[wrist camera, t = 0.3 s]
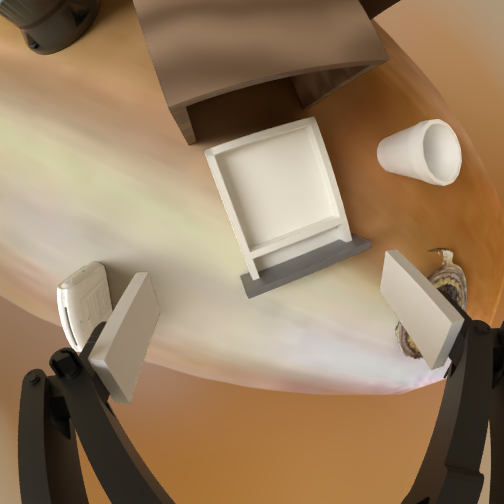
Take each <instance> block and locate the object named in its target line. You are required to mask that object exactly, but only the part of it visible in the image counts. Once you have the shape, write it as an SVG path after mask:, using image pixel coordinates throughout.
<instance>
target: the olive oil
mask: <svg viewBox="0 0 504 504" xmlns="http://www.w3.org/2000/svg"><path fill="white" fill-rule="evenodd" d="M399 1H400V0H359V2H360V4H361V5H362V7H363V9H364V10H365V12H366V14H367V16H368V17H369V19H370V20H371V19H373V18H374V17H375V16H377V15H378V14H380V13H381V12H383V11H384V10H386V9H387V8H389V7H391V6H392V5H394V4H395V3H397V2H399Z"/></svg>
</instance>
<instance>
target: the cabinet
mask: <svg viewBox="0 0 504 504" xmlns="http://www.w3.org/2000/svg"><path fill="white" fill-rule="evenodd" d="M133 3H134V6H135V9H136V12H137V16H138V19H139V22H140V25H141V28H142V31H143V35H144V38H145V41H146V44H147V47H148V50H149V53H150V56H151V59H152V62H153V65H154V68H155V71H156V74H157V77H158V80H159V83H160V86H161V89H162V91H163V94H164V97H165V100H166V103H167V106H168V108H169V110H170V112H171V114H172V116H173V117H174V119H175V121H176V123H177V125H178V127H179V128H180V130H181V132H182V134H183V136H184V138H185V139H186V141H187V143H188V145H191V144H194V143H196V139H195V136H194V132H193V129H192V126H191V122H190V119H189V116H188V112H187V109H186V106H189V105H191V104H194V103H197V102H200V101H203V100H206V99H209V98H212V97H215V96H218V95H221V94H224V93H227V92H231V91H234V90H237V89H241V88H245V87H248V86H252V85H256V84H260V83H264V82H268V81H272V80H276V79H281V78H285V77H291V79H292V81H293V84H294V86H295V89H296V91H297V94H298V96H299V99H300V101H301V104H302V106H303V109H307V108H311V107H312V106H314V105H315V104H317V103H318V102H320V101H321V100H323V99H324V98H326V97H327V96H329V95H331V94H332V93H334V92H335V91H337V90H338V89H340V88H342V87H343V86H345V85H346V84H348V83H350V82H351V81H353V80H355V79H356V78H358V77H360V76H361V75H363V74H365V73H367V72H368V71H370V70H372V69H373V68H375V67H377V66H379V65H381V64H382V63H384V62H386V61H388V60H390V59H389V57H388V55H387V53H386V51H385V48H384V46H383V44H382V42H381V40H380V38H379V36H378V34H377V32H376V30H375V28H374V27H373V25H372V23H371V21H370V19H369V17H368V16H367V14H366V12H365V10H364V9H363V7H362V5H361V4H360V2H359V0H133Z"/></svg>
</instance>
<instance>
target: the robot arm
mask: <svg viewBox="0 0 504 504" xmlns="http://www.w3.org/2000/svg"><path fill="white" fill-rule="evenodd" d="M98 10H99V0H0V15H1V16H3V17H4V18H6V19H7V20H8V21H10V22H11V23H13V24H14V25H16V26H17V27H18V28H20V30H21V32H22V35H23V37H24V39H25V42H26V44H27V46H28V47H29V48H30V49H31V50H32V51H34V52H35V53H37V54H41V55H47V54H52V53H55V52H57V51H60V50H62V49H64V48H65V47H67V46H69V45H70V44H71V43H73V42H74V41H75V40H77V39H78V38H79V37H80V36H81V35H82V34H83V33H84V32H85V31H86V30H87V29H88V28H89V26H90V25H91V24H92V22H93V21H94V19H95V17H96V15H97V13H98ZM379 292H380V293H381V295H382V296H383V298H384V299H385V301H386V302H387V303H388V305H389V306H390V308H391V309H392V310H393V312H394V313H395V315H396V316H397V318H398V319H399V321H400V322H401V324H402V325H403V327H404V328H405V330H406V331H407V333H408V334H409V336H410V337H411V339H412V340H413V342H414V343H415V345H416V346H417V348H418V350H419V351H420V353H421V354H422V356H423V357H424V359H425V361H426V362H427V364H428V365H429V367H430V369H431V370H433V369H436V368H439V367H441V366H444V364H445V362H446V360H447V358H448V356H449V358H450V359H451V361H452V362H451V364H450V366H449V368H448V370H447V372H446V373H445V375H444V377H443V378H446V376H447V375H448V376H447V381H446V386H445V390H444V395H443V399H442V403H441V406H440V410H439V414H438V418H437V421H436V425H435V428H434V431H433V434H432V437H431V440H430V443H429V446H428V449H427V452H426V454H425V457H424V460H423V462H422V465H421V468H420V470H419V473H418V475H417V477H416V479H415V482H414V484H413V486H412V488H411V490H410V492H409V493H408V495H407V496H406V497H405V498H404V500H403V501H402V503H401V504H477V503H478V500H479V497H480V493H481V490H482V487H483V482H484V475H483V474H481V473H480V472H479V468H480V463H481V459H482V455H483V450H484V445H485V440H486V434H487V428H488V421H490V422H489V423H490V437H491V480H490V481H491V482H490V497H489V504H504V321H503V323H502V325H501V327H500V328H494V329H491V328H490V326H489V325H488V324H487V323H485V322H483V321H481V320H472V319H471V318H470V317H469V316H468V315H467V313H466V312H465V311H464V310H463V309H462V308H461V307H460V306H459V305H458V304H457V303H456V302H455V301H454V300H453V298H452V297H451V296H450V295H449V294H448V293H446V292H445V291H443V290H441V289H440V288H439V289H436V288H435V287H434V286H433V285H432V283H431V282H430V281H429V280H428V279H427V278H426V277H425V276H424V275H423V274H422V273H421V272H420V271H419V270H418V269H417V268H416V267H415V266H414V265H413V264H412V263H410V262H409V261H408V260H407V259H406V258H405V257H404V256H403V255H402V254H401V253H400V252H399V251H398V250H389V251H386V253H385V260H384V267H383V274H382V280H381V286H380V291H379ZM159 315H160V310H159V307H158V303H157V300H156V296H155V293H154V290H153V286H152V283H151V279H150V275H149V272H138V273H135V275H134V277H133V278H132V280H131V282H130V283H129V285H128V287H127V288H126V290H125V292H124V293H123V295H122V297H121V298H120V300H119V302H118V304H117V305H116V307H115V309H114V311H113V312H112V314H111V316H110V318H109V319H108V321H107V322H106V321H102V322H101V323H100V324H98V325H97V326H96V327H95V328H94V330H93V332H92V333H91V335H90V337H89V339H88V340H87V343H86V344H85V346H84V348H83V349H82V351H81V353H80V355H79V357H78V355H77V353H76V352H75V350H74V349H72V348H63V349H60V350H58V351H56V352H55V353H54V354H53V355H52V356H51V359H50V361H49V365H50V366H51V368H52V370H53V371H54V372H55V374H56V375H55V376H48V377H47V376H46V374H45V373H44V371H43V370H41V369H34V370H31V371H30V372H28V373H27V374H26V376H25V377H24V379H23V383H22V391H21V399H20V410H19V411H20V412H19V426H18V465H19V466H18V467H19V481H20V493H21V501H22V504H89V502H88V498H87V494H86V490H85V486H84V481H83V476H82V472H81V466H80V460H79V454H78V448H77V441H76V433H75V429H76V432H77V434H78V437H79V439H80V441H81V444H82V446H83V448H84V451H85V453H86V455H87V457H88V460H89V462H90V464H91V466H92V468H93V470H94V472H95V474H96V476H97V478H98V480H99V481H100V484H101V485H102V487H103V489H104V491H105V492H106V494H107V496H108V498H109V499H110V501H111V503H112V504H175V502H174V501H173V500H172V499H171V498H170V496H169V495H168V494H167V493H166V491H165V490H164V489H163V487H162V486H161V485H160V484H159V482H158V481H157V479H156V478H155V477H154V475H153V474H152V473H151V471H150V470H149V468H148V467H147V466H146V464H145V463H144V461H143V460H142V458H141V457H140V455H139V454H138V452H137V451H136V449H135V448H134V446H133V444H132V443H131V441H130V440H129V438H128V436H127V435H126V433H125V431H124V429H123V428H122V426H121V424H120V423H119V421H118V419H117V417H116V416H115V414H114V412H113V410H112V408H111V406H110V405H109V403H108V402H107V400H108V398H109V395H110V396H111V397H112V398H113V400H114V401H115V402H118V403H127V404H130V403H131V399H132V396H133V393H134V390H135V386H136V383H137V380H138V377H139V373H140V370H141V367H142V364H143V361H144V358H145V355H146V352H147V349H148V346H149V343H150V340H151V337H152V335H153V332H154V329H155V326H156V323H157V320H158V318H159Z"/></svg>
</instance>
